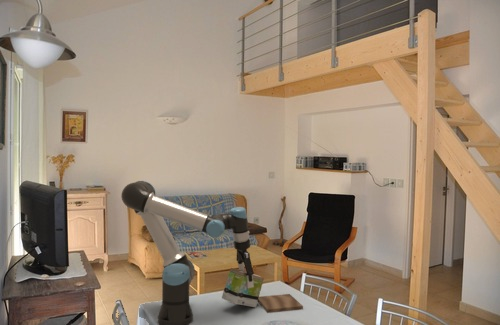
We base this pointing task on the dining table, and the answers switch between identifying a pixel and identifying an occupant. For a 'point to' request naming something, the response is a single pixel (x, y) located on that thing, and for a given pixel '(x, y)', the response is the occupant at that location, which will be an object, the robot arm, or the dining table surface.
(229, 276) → the tea box
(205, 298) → the dining table surface
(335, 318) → the dining table surface
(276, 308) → the walnut board
